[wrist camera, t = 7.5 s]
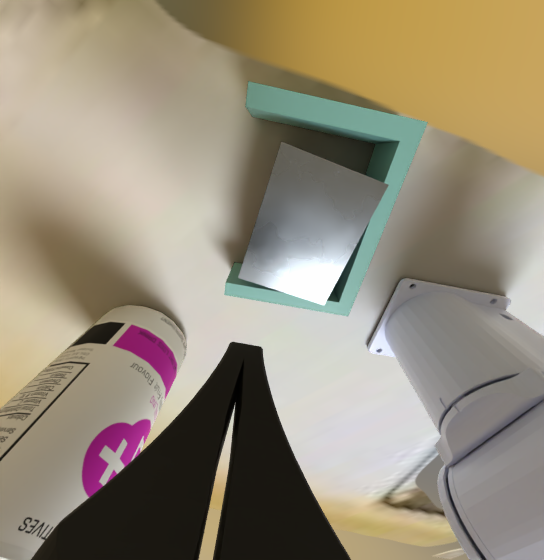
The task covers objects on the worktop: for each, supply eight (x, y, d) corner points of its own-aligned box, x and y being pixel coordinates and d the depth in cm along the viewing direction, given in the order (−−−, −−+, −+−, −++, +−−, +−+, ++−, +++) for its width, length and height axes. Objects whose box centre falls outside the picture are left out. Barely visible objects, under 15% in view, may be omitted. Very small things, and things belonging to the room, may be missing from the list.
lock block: (362, 178, 17) (388, 184, 13) (315, 275, 20) (324, 305, 16) (280, 145, 16) (281, 141, 12) (246, 252, 19) (238, 277, 15)
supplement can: (193, 312, 22) (60, 554, 9) (184, 373, 26) (81, 609, 12) (101, 291, 21) (-202, 520, 8) (106, 357, 25) (-94, 589, 12)
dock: (397, 129, 15) (427, 122, 12) (337, 292, 20) (348, 316, 17) (255, 97, 14) (248, 81, 11) (233, 273, 20) (224, 294, 17)
